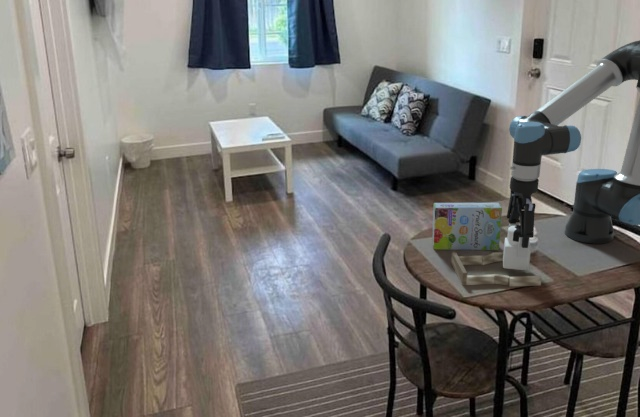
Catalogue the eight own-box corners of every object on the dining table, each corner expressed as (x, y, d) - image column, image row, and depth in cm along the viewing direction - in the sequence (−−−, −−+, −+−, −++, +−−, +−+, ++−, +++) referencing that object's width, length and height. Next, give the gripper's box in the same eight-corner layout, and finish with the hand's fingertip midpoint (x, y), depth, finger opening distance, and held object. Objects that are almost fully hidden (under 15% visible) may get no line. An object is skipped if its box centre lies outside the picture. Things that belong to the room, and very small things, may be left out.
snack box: (495, 243, 190) (499, 201, 185) (498, 251, 185) (502, 208, 180) (431, 243, 193) (433, 201, 187) (433, 250, 187) (435, 207, 182)
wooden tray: (520, 258, 179) (521, 247, 178) (540, 285, 163) (542, 273, 161) (450, 261, 179) (450, 249, 178) (463, 288, 163) (464, 275, 162)
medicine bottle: (527, 260, 172) (531, 224, 168) (528, 270, 166) (532, 233, 162) (502, 258, 174) (506, 222, 170) (502, 268, 168) (506, 231, 164)
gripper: (500, 166, 170) (493, 236, 178) (524, 189, 150) (516, 266, 158) (524, 166, 170) (517, 235, 178) (552, 188, 150) (543, 265, 158)
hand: (517, 249), depth 168 cm, fingers closed on medicine bottle, 8 cm apart
